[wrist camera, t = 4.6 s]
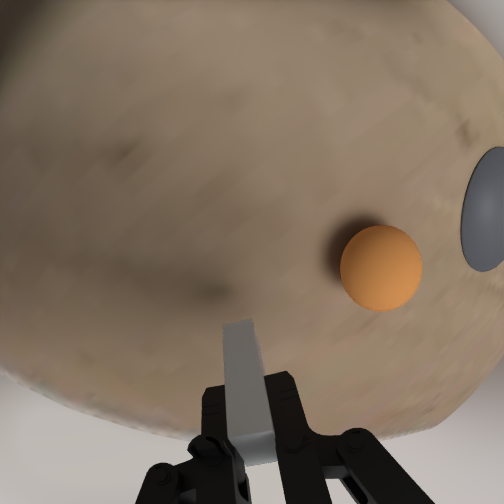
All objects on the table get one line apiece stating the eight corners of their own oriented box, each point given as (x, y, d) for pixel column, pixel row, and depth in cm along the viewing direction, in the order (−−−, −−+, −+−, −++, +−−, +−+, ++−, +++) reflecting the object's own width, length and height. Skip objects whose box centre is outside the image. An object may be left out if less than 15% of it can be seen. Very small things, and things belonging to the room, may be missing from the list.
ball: (331, 294, 20) (361, 340, 15) (324, 224, 18) (361, 257, 13) (393, 274, 21) (432, 311, 15) (393, 208, 18) (442, 233, 13)
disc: (453, 286, 22) (454, 287, 22) (460, 148, 17) (462, 149, 17) (517, 253, 22) (518, 254, 22) (525, 146, 17) (526, 146, 17)
